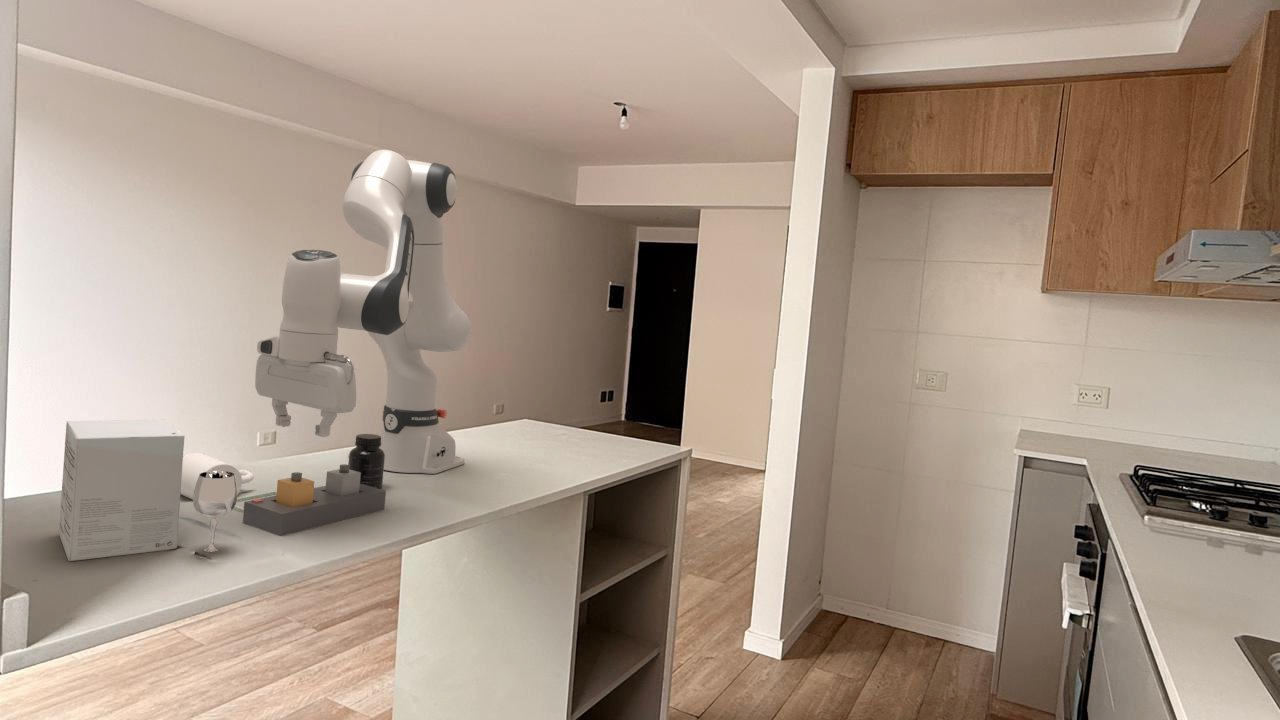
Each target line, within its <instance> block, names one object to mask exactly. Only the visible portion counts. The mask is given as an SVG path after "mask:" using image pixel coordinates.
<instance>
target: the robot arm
mask: <svg viewBox="0 0 1280 720" xmlns="http://www.w3.org/2000/svg"><path fill="white" fill-rule="evenodd" d="M351 173H352V174H351V178H350V182H349V185H348V187H347V189H346V191H345V193H344V197H343V200H342V205H341V206H342V213H343V216H344V219H345V221H346V223H347V224H348V226H349V227H350V228H351V229H352V231H354V232H355V233H356V234H358V235H359V237H361V238H363V239H365V240H367V241H369V242H372V243H374V244H377V245H380V246H381V247H383V248H384V249H386V250H387V254H386V261H385V267H384V272H383V273H381V274H379V275H363V274H362V275H361V274H353V273H346V272H342V271H341V262H340V258H339V255H337V254H336V253H334V252H331V251H328V250H321V249H320V250H319V249H302V250H301V249H300V250H296V251H294V252H292V253H291V254H290V255H289V257H288V261H287V263H286V267H285V272H284V277H283V284H282V292H281V306H282V310H283V316H282V320H281V323H280V325H279V335H275V336H271V337H268V338H264V339H260V340H259V341H257V345H256V351H257V353H258V354H260V355H259V356H258V357H257V360H256V365H255V377H254V378H255V379H254V380H255V382H254V387H255V390H256V391H257V394H258V396H260V397H266V398H268V399H269V398H270V399H271V407H272V409H273V411H274V414H275V425H276V426H279V427H283V428H284V427H285V428H286V427H290V425H291V419H292V415H289V414H288V410H287V409H288V408H287V405H289V404H295V405H298V406H304V407H307V408H311V409H316V410H319V411H320V416H321V417H322V419H321V421H320V423H319V424H315V427H314V428H315V429H314V430H315V431H314V434H315V436H317V437H321V438H327V437H329V436H330V435H331V426H332V425H333V423H334V422H335V420H336V419H337V416H338V414H345V413H351V412H353V410H354V409H355V408H356V404H357V381H356V374H355V365H354V364H353V362H352V361H351V360H350V358H349V356H347V355H344V354H340V355H339V354H337V353H338V352H337V350H338V340H339V339H338V338H339V328H341V329H347V330H358V331H365V332H367V333H368V335H369V336H370V337H371V339H373V341H374V342H375V343H376V344H377V345H378V347H379V349H380V351H381V354H382V355H383V359H384V361H385V366H386V371H387V372H386V374H387V382H386V383H387V384H386V387H387V388H386V401H385V402H386V403H385V405H384V406H383V410H382V422H383V426H382V427H381V431H380V435H379V436H381V446H380V447H379V448H380V449H381V450H383V452H384V454H385V460H384V471H389V472H395V473H396V472H397V473H405V474H406V473H408V474H410V473H411V474H413V473H414V474H416V473H417V474H427V475H428V474H429V475H430V474H431V475H435V474H438V473H439V474H440V473H441V472H444V471H447V470H450V469H453V468H457V467H459V466H462V465H464V464H465V459H464V458H462V457H459V456H458V455H456V446H457V445H456V440H455V438H454V437H453V436H452V435H451V434H450V433H448V431H446V430H445V428H443V427H442V426H441V424H439V422H440V421H439V418H441V419H446V417H447V414H448V412H447V410H445V409H441V408H439V409H436V408H435V407H436V396H437V387H438V386H437V385H438V379H437V374H436V373H435V371H434V370H432V368H430V367H429V366H428V365H427V364H426V363H425V361H424V359H423V357H422V353H421V351H429V352H434V353H435V352H436V353H445V352H447V353H448V352H458V351H460V350H462V349H463V348H464V347H465V346H466V344H467V343H468V341H469V339H470V335H471V332H472V331H471V329H472V328H471V321H470V319H469V317H468V314H467V313H466V312H465V311H463V310H462V308H460V306H458V304H457V303H456V301H455V300H454V299H453V297H452V295H451V293H450V290H449V288H448V285H447V283H446V278H445V277H446V276H445V269H444V268H445V267H444V230H443V220H442V219H443V218H442V217H443V215H444V214H446V213H448V212H449V211H450V210H451V209H452V208H453V206H454V205H455V204H456V199H457V194H458V184H457V179H456V175H455V173H454V171H453V170H452V169H451V168H450V167H449V166H447V165H445V164H441V163H438V162H433V163H432V162H431V163H430V162H425V161H420V160H419V161H418V160H413V159H412V160H411V159H406V158H405V157H404V156H403V155H401V154H400V153H398V152H396V151H393V150H390V149H378V150H375V151H373V152H372V153H370V154H369V155H368V156H367V157H366V158H365V160H363V161H361V162H359V163H358V164H357V165H356V166H355V167H354V169H353V170H352V172H351ZM409 295H410V296H411V299H412V300H409V298H410V297H409Z"/></svg>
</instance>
